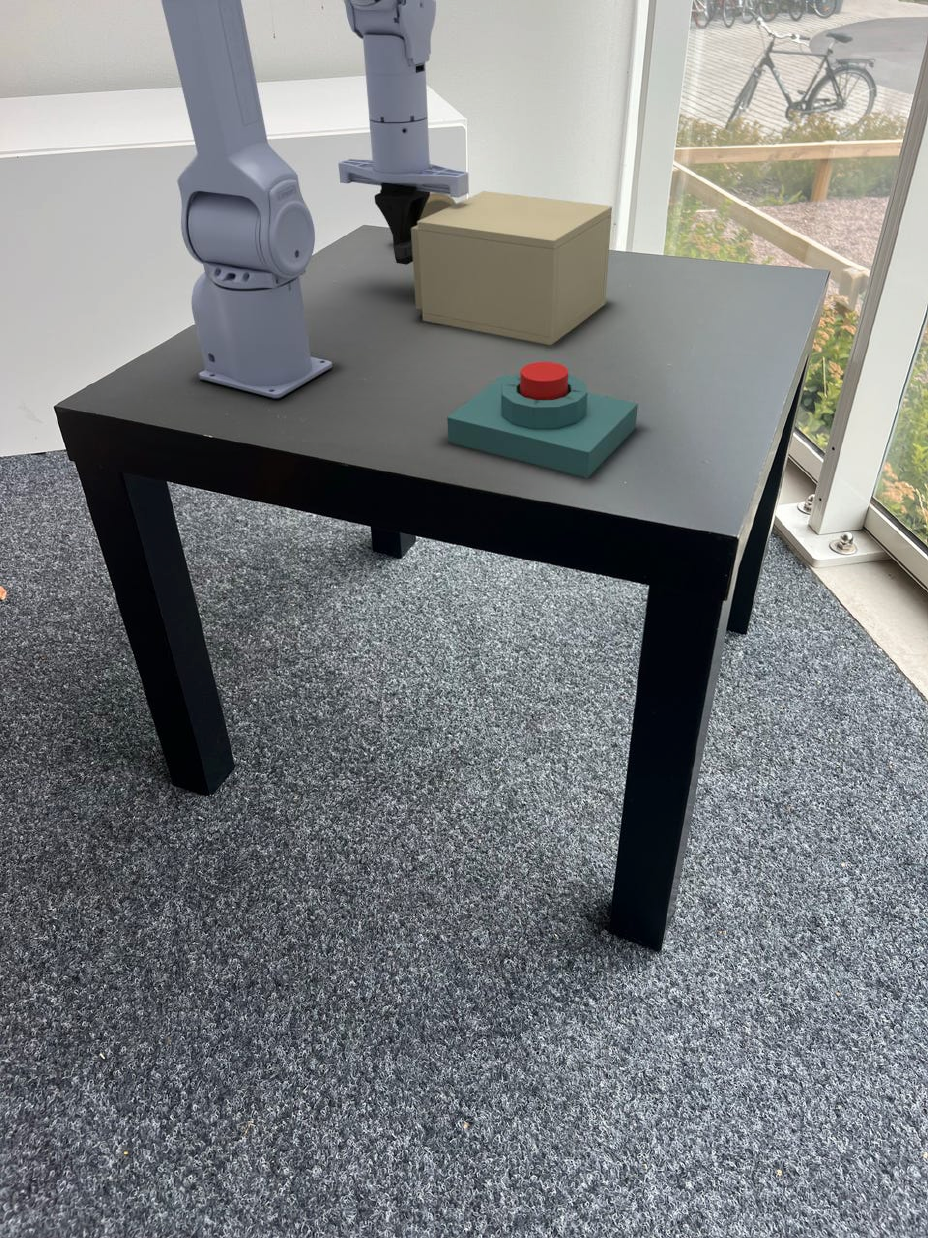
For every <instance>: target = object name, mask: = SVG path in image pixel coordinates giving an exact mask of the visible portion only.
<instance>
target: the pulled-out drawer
mask: <svg viewBox="0 0 928 1238" xmlns="http://www.w3.org/2000/svg"><path fill="white" fill-rule="evenodd" d="M393 254H394V257H395V256H396V257H397V258H398V259H403V258H405V257H407V256H413V262H412V265H413V267H412V268H413V284H414V298H415V299H414V300H415V301H414V302H415V309H418V310H422V293H421V276H420V259H419V242H418V225H417V226H415V227H412V228H411V239H409V240H407V241H405V242H403V243H401V244H399V245H396V246H395V248H394V247H393Z"/></svg>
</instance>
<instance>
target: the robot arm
mask: <svg viewBox="0 0 928 1238" xmlns="http://www.w3.org/2000/svg"><path fill="white" fill-rule="evenodd" d="M160 1H161V6H162V10H163V13H164V18H165V22H166V26H167V30H168V34H169V35H168V36H169V39H170V44H171V47H172V52H173V55H174V56H173V57H174V60H175V64H176V69H177V71H178V72H177V73H178V77H179V82H180V86H181V89H182V94H183V98H184V102H185V106H186V111H187V114H188V119H189V123H190V127H191V131H192V136H193V139H194V144H195V147H196V154H195V156H194V157H193V158H192V160H191V161H190V162H189V163H188V164H187V165H186V166H185V168H184V169H183V170H182V171H181V173H180V174H179V176H178V178H177V181H176V182H177V186H178V190H179V194H180V195H179V196H180V199H181V201H180V202H181V213H180V230H181V236H182V239H183V243H184V245H185V247H186V249H187V251H188V253H189V254H190V256H191V257H192V258H193V259H194V260H195V261H197V262H198V263H200V264H201V265H203V270H204V272H203V273H202V274H201V275H200V276H199V277H198V278H197V280H196V282H195V283H194V286H193V290H192V293H191V312H192V317H193V322H194V325H195V330H196V335H197V339H198V343H199V348H200V352H201V357H202V362H203V365H204V370H202V371H200V372H199V373H198V377H199V379H200V380H203V381H206V382H212V383H214V384H218V385H223V386H227V387H230V388H234V389H238V390H242V391H246V392H249V393H253V394H257V395H260V396H265V397H268V398H272V399H280V398H282V397H284V396H286V395H287V394H289V393H290V392H292V391H294V390H296V389H297V388H299V387H301V386H303V385H305V384H306V383H308V382H310V381H311V380H313V379H315V378H316V377H318V376H319V375H321V374H323V373H324V372H326V371H328V370H330V369H331V368H333V361H330V360H327V359H322V358H318V357H314V356H311V349H310V342H309V335H308V328H307V321H306V313H305V308H304V307H305V306H304V300H303V294H302V286H301V280H300V276H302V275H305V274H306V268H307V267H308V266H309V263H310V261H311V258H312V256H313V253H314V251H315V250H314V248H315V245H316V243H315V242H316V230H315V225H314V220H313V217H312V216H313V215H312V214H311V211H310V209H309V206H307V203H306V201H305V200H304V198H303V195H302V191H301V186H300V182H299V176H298V174H297V172H296V171H295V170H294V169H293V168H292V167H291V165H289V163H287V162H286V161H285V160H284V159H283V158H282V156H280V155H279V154H278V153H277V152H276V151H275V150H274V148H272V146H270V144H269V142H268V136H267V130H266V125H265V120H264V115H263V110H262V104H261V99H260V94H259V88H258V84H257V78H256V73H255V67H254V61H253V56H252V51H251V47H250V41H249V35H248V30H247V25H246V20H245V14H244V9H243V4H242V0H160ZM343 2H344V5H345V6H344V7H345V11H346V18H347V21H348V24H349V28H350V29H351V32H352V33H354V34H355V35H356V37H358V38H359V39H361V40H362V46H363V57H364V70H365V81H366V82H365V83H366V96H367V106H368V107H367V108H368V120H369V121H368V122H369V132H370V146H371V158H372V159H355V158H348V159H344V160H342V161H338V173H339V181H340V183H341V184H352V183H356V184H365V185H371V186H372V185H373V186H378V187H379V186H380V190H379V193H376V194H375V195H374V204H375V205H376V206H377V208H378V209H379V211H380V212H381V214H382V216H383V218H384V219H385V221H386V224H387V226H388V227H389V230H390V233H391V235H392V241H393V242H392V243H393V249H394V248H395V246H396V245H399V244H401V243H403V242H405V241H407V240H409V239H411V228H412V227H415V226H417V221H419V220H420V218H421V215H422V212H423V210H424V207H425V205H426V203H427V201H428V199H429V197H430V192H434V193H442V194H449V195H450V196H451V197H452V198H458V199H459V198H461V197H464V196H466V195H467V194H469V184H470V183H469V172H468V171H461V170H456V169H452V168H448V167H444V166H440V165H437V164H433V163H431V161H430V139H429V117H428V116H429V115H428V113H429V112H428V90H427V89H428V88H427V65H426V62H428V61H430V57H431V54H432V47H431V39H432V33H433V29H434V26H435V21H436V13H437V1H436V0H343ZM394 257H395V258H394V259H395V263H396V264H400V265H405V266H407V265H409V264H411V263H413V256H407V257H405V258H403V259H398V258H397V257H396V256H395V255H394Z"/></svg>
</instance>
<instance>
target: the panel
mask: <svg viewBox="0 0 928 1238" xmlns="http://www.w3.org/2000/svg"><path fill="white" fill-rule="evenodd" d="M638 408H639V403H638V402H634V401H633V402H632V401H627V400H624V399H619V398H614V397H610V396H605V395H600V394H595V393H591V392H588V390H587V384H586V382H585V381H584V380H582V379H580V378H578V377H577V376H575V375H574V374H570V373H568V390H567V395H566V396H565V397H562V398H559V399H555V400H534V399H529V398H525V397H523V396H522V395H521V394H520V373H518V374H515V375H507V374H503V375H501V376H500V377H499V378H497V379H496V380H494V381H493V382H492V383H491V384H489V385H488V386H487V387H485V388H484V389H483V390H481V391H480V392H479V393H477V394H476V395H475V396H474V397H472V398H471V399H469V400H468V401H467V402H465V403H464V404H463V405H461V406H460V407H459V408H457V409H456V410H454V411H453V412H451V414H449V415H448V416H446V417H447V418H446V419H447V439H448V440H447V442H448V443H451V444H454V445H458V446H462V447H466V448H470V449H473V450H476V451H482V452H485V453H489V454H493V455H496V456H499V457H505V458H507V459H512V460H516V461H519V462H524V463H528V464H532V465H534V466H539V467H543V468H546V469H550V470H554V471H558V472H562V473H566V474H570V475H574V476H577V477H581V478H585V479H589V478H590V476H592V475H593V474H594V472H595V471H596V470H597V469H598V468H600V467H601V465H602V464H603V463H604V462H605V461H606V460H607V459H608V458H609V457H610V456H611V455H612V454H613V453H614V452H615V451H616V450H617V448H618V447H619V446H621V444H622V443H623V442H624V441H626V439H627V438H628V437H629V436H630V435H631V434H632V433H633V432H634V431H635V430H636V428H637V417H638Z"/></svg>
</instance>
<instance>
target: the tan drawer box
mask: <svg viewBox="0 0 928 1238" xmlns="http://www.w3.org/2000/svg"><path fill="white" fill-rule="evenodd" d="M612 214H613V206H612V205H605V204H598V203H597V204H596V203H595V204H594V203H587V202H579V201H570V200H563V199H552V198H545V197H536V196H529V195H519V194H511V193H503V192H495V191H485V190H483V191H481V192H479V193H476V194H474V195H472V196H469V197H468V198H466V199H463V200H461V201H459V202H456V204H454V205H452V206H450V207H448V208H446V209H443V210H441V211H439V212H437V213H435V214H432V215H430V216H428V217H426V218H424V219H421V220H419V221H417V225H418V242H419V259H420V276H421V293H422V309H421V310H422V321H423V322H427V323H431V324H432V323H433V324H438V325H445V326H450V327H455V328H461V329H465V330H471V331H475V332H481V333H486V334H492V335H497V336H500V337H501V336H502V337H507V338H513V339H518V340H522V341H527V342H532V343H537V344H543V345H548V346H552V345H553V344H555V343H556V342H558V341H559V340H560V339H561V338H563V337H564V336H565V335H566V334H569V333H570V332H571V331H572V330H574V329H575V328H576V327H577V326H579V325H580V324H582V323H583V322H584V321H585V320H587V319H588V318H590V317H591V316H593V314H595V313H596V312H597V311H598V310H600V309H601V308H603V307H604V306H605V305H606V303H607V302H606V300H607V285H608V273H609V272H608V270H609V259H610V257H609V256H610V243H611V242H610V241H611V230H612Z"/></svg>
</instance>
